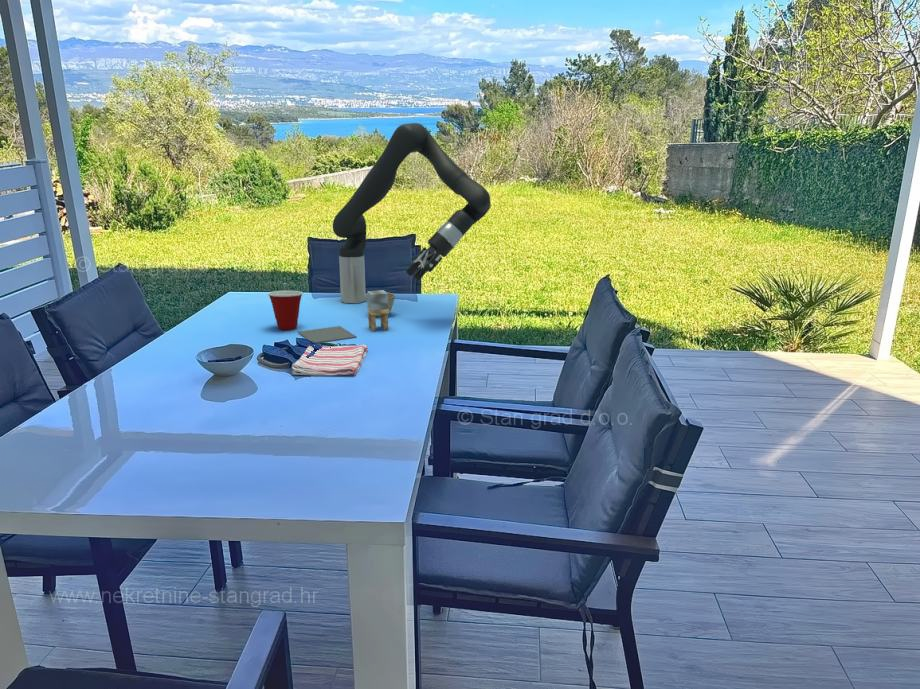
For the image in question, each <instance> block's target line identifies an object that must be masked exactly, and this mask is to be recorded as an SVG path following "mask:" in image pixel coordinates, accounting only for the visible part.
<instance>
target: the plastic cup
mask: <svg viewBox="0 0 920 689" xmlns="http://www.w3.org/2000/svg"><path fill="white" fill-rule="evenodd" d="M303 294H304V292H303V291H299V290H276V291H275V290H273V291H269V292H268V293H267V295H268V296H269V299H270V302H271V306H272V310H273V314H274V318H275V321H276V324H277V328H278V330H280V331H293V330H296V329H297V327H298V320H299V315H300V305H301V300H302V296H303Z"/></svg>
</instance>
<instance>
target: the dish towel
mask: <svg viewBox="0 0 920 689" xmlns="http://www.w3.org/2000/svg"><path fill="white" fill-rule="evenodd" d="M330 347H331V348H330ZM313 350H314V348H313V347H312V346H310V345H309V346H308V347H306V349H305V351H304V353H303V354H302V355H301V356H300V358H299V359H298V360H296V361H295V362H294V363H292V364H291V365H292V366H291V370H292V371H291V373H292V375H293V376H294V375H295V376H296V375H297V376H299V375H300V376H314V377H315V376H316V377H317V376H318V377H319V376H320V377H322V376H329V377H331V376H332V377H334V376H335V377H336V376H354V377H356V375H357V373H358V372H359V371H360V368H361V366H362V364H363V362H364V359H365V358H366V355H367V353H368V351H369V349H368V345H367V344H361V345H338V346H331V345H330V346H323V347H322V348H321V349H319V350H317V351H316V352H315V354H314V355H313V356H311V357H309V358H307V357H306V356H307V355H309V354H310V353H311V351H313Z"/></svg>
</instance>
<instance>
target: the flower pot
mask: <svg viewBox="0 0 920 689" xmlns="http://www.w3.org/2000/svg"><path fill="white" fill-rule="evenodd" d="M387 293H388V309H389V314H390V312H391V311H392V308H393V306H394V302H395V296H396V294H394V293H393V292H392V293H391V292H387ZM365 297H366V301H365V302H366V303H367V294H365ZM367 305H368V303H367ZM376 318H381V316H380V314H379V315H376Z"/></svg>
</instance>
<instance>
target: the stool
mask: <svg viewBox="0 0 920 689" xmlns="http://www.w3.org/2000/svg"><path fill="white" fill-rule="evenodd" d="M388 293H389V292H387V291H385V290H384V289H381V290H380V289H379V290H368V291H367V292H366V295H367V301H366V303H368V304H367V314H368V317H367V318H368V329H371V332H377V320H376V319H377V317H376V315H379V314H380V316H381V317H380V328H383V331H389V314H390V313H389V309H388Z"/></svg>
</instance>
